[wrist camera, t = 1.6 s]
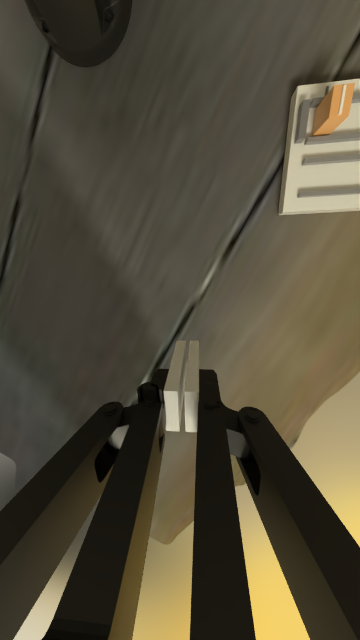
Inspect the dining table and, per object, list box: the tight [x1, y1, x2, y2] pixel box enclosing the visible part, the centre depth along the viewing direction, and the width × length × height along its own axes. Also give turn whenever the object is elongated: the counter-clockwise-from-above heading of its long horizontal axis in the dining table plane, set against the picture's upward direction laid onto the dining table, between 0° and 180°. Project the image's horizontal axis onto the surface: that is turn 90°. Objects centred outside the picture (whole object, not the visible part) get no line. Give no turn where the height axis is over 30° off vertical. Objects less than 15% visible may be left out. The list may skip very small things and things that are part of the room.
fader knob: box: [311, 83, 355, 137], centre depth 26 cm, size 3×2×4 cm
